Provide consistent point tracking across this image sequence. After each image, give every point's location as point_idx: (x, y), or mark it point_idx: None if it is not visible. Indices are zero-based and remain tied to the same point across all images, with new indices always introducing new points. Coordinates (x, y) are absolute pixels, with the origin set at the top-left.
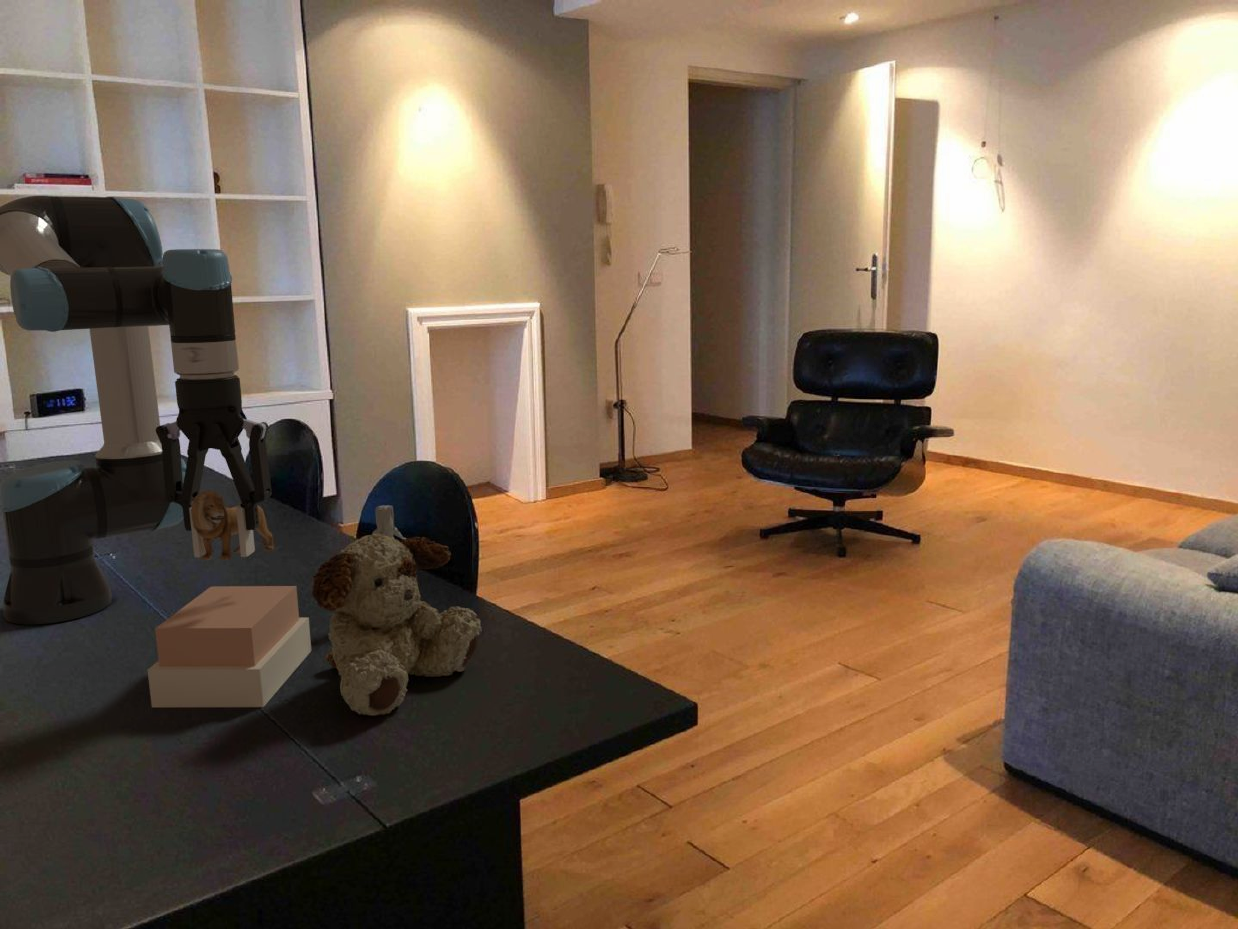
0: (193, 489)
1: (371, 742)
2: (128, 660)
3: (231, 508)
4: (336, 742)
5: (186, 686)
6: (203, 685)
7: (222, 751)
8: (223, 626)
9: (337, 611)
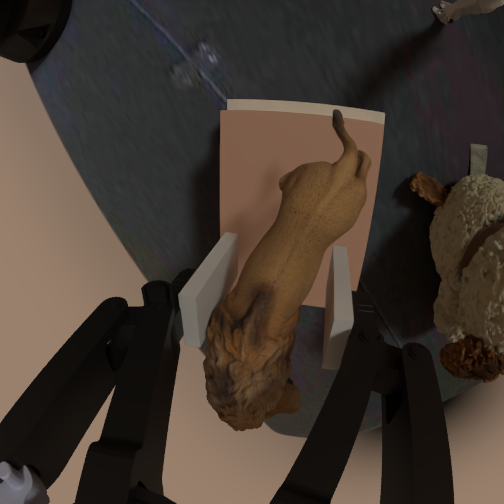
0: (173, 374)
1: (443, 335)
2: (152, 128)
3: (284, 288)
4: (419, 334)
5: None
6: None
7: None
8: (312, 301)
9: (458, 263)
